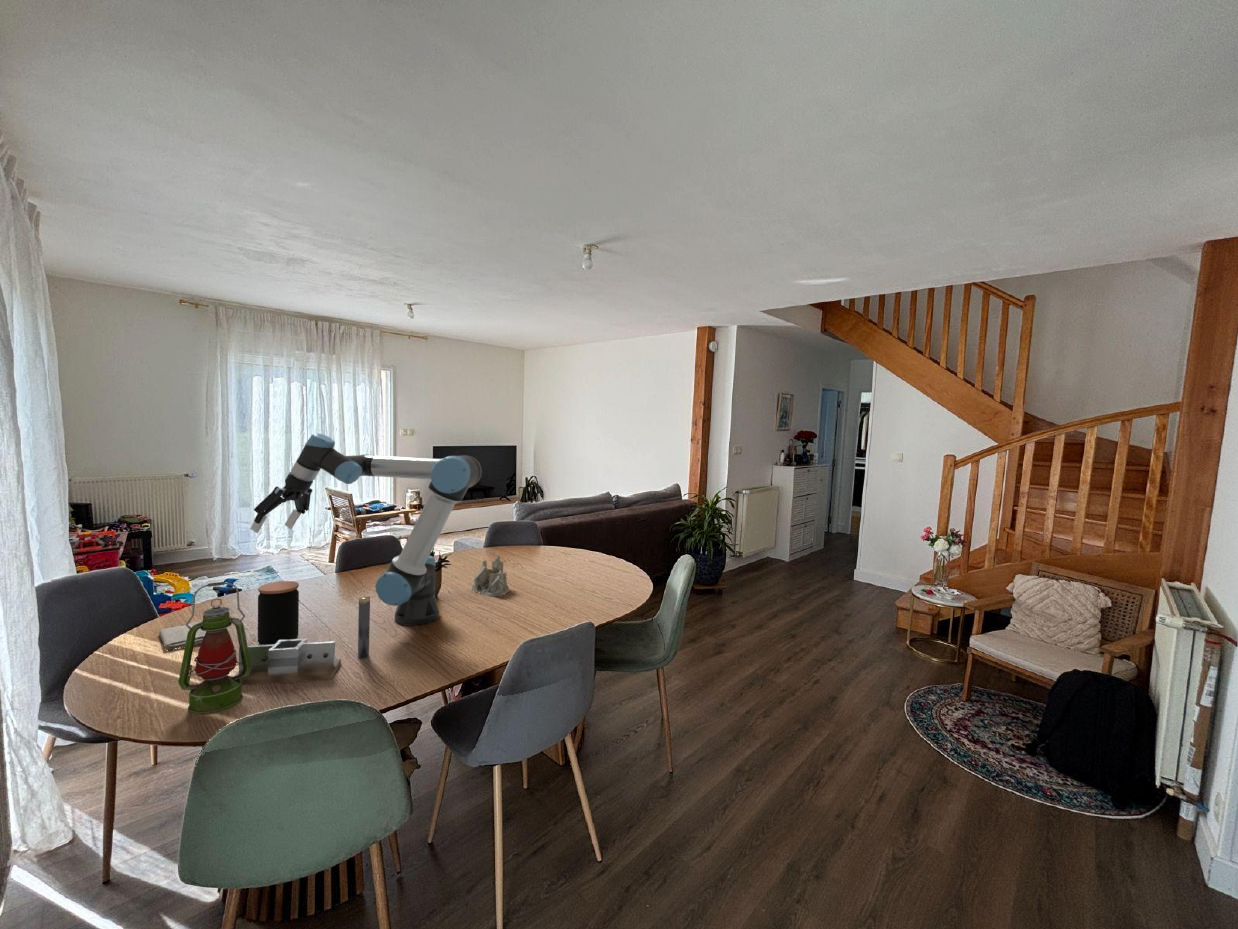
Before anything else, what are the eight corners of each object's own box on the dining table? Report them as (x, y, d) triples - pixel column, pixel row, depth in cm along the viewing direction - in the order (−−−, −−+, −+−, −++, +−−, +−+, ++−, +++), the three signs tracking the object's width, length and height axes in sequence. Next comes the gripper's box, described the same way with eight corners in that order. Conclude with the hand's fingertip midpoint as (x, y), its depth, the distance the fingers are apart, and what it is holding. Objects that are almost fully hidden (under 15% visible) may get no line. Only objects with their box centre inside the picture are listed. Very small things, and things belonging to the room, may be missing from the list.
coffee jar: (306, 638, 162) (306, 583, 161) (274, 651, 152) (274, 593, 151) (282, 633, 165) (282, 579, 164) (249, 645, 155) (249, 588, 154)
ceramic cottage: (473, 585, 226) (475, 552, 224) (510, 586, 228) (512, 554, 226) (467, 598, 210) (469, 563, 209) (506, 600, 212) (509, 565, 211)
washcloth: (165, 654, 148) (165, 644, 148) (157, 636, 160) (157, 626, 160) (216, 643, 157) (216, 633, 157) (205, 626, 169) (205, 617, 169)
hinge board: (340, 664, 145) (340, 659, 145) (331, 679, 137) (331, 673, 137) (245, 670, 139) (245, 665, 139) (229, 686, 131) (229, 680, 131)
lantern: (177, 723, 114) (176, 593, 112) (179, 702, 122) (179, 581, 120) (252, 704, 123) (253, 584, 121) (250, 686, 131) (250, 573, 129)
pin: (370, 654, 153) (371, 596, 152) (367, 658, 150) (368, 599, 149) (359, 654, 152) (360, 596, 151) (356, 658, 149) (357, 599, 148)
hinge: (337, 660, 144) (338, 637, 144) (330, 672, 137) (330, 647, 137) (245, 666, 138) (245, 641, 138) (233, 678, 132) (233, 652, 131)
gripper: (321, 470, 182) (293, 519, 183) (261, 469, 157) (229, 525, 159) (337, 481, 181) (308, 531, 182) (279, 482, 156) (246, 539, 158)
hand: (271, 528), depth 170 cm, fingers open, 13 cm apart
